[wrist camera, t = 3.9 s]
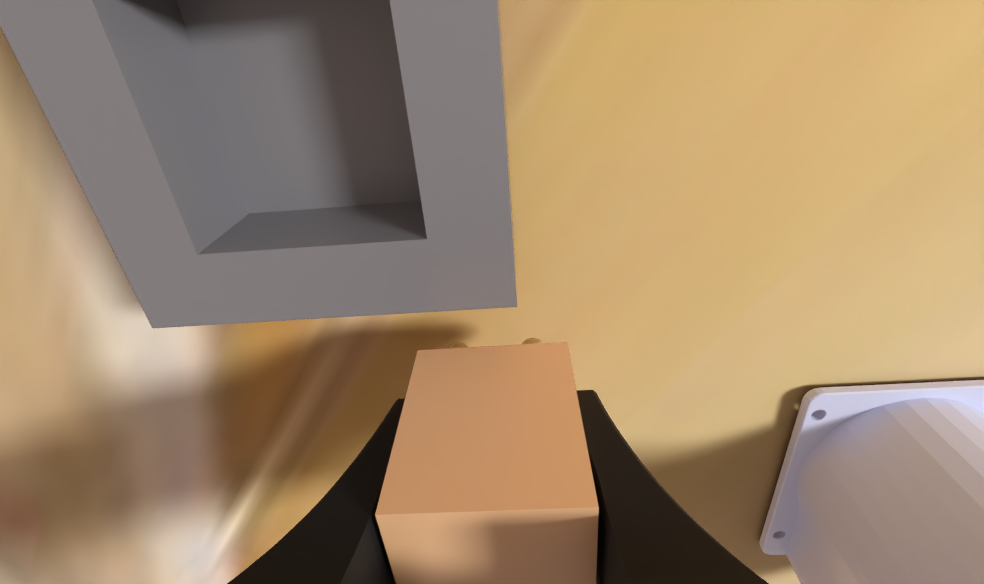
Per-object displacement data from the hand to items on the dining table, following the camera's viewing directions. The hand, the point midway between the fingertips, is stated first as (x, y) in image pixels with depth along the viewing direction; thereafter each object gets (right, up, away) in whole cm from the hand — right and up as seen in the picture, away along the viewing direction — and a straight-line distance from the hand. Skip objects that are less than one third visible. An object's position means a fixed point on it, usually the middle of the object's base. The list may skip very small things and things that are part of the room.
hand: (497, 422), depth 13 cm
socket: (-5, +9, 0) cm, 10 cm away
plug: (0, +1, +2) cm, 2 cm away
